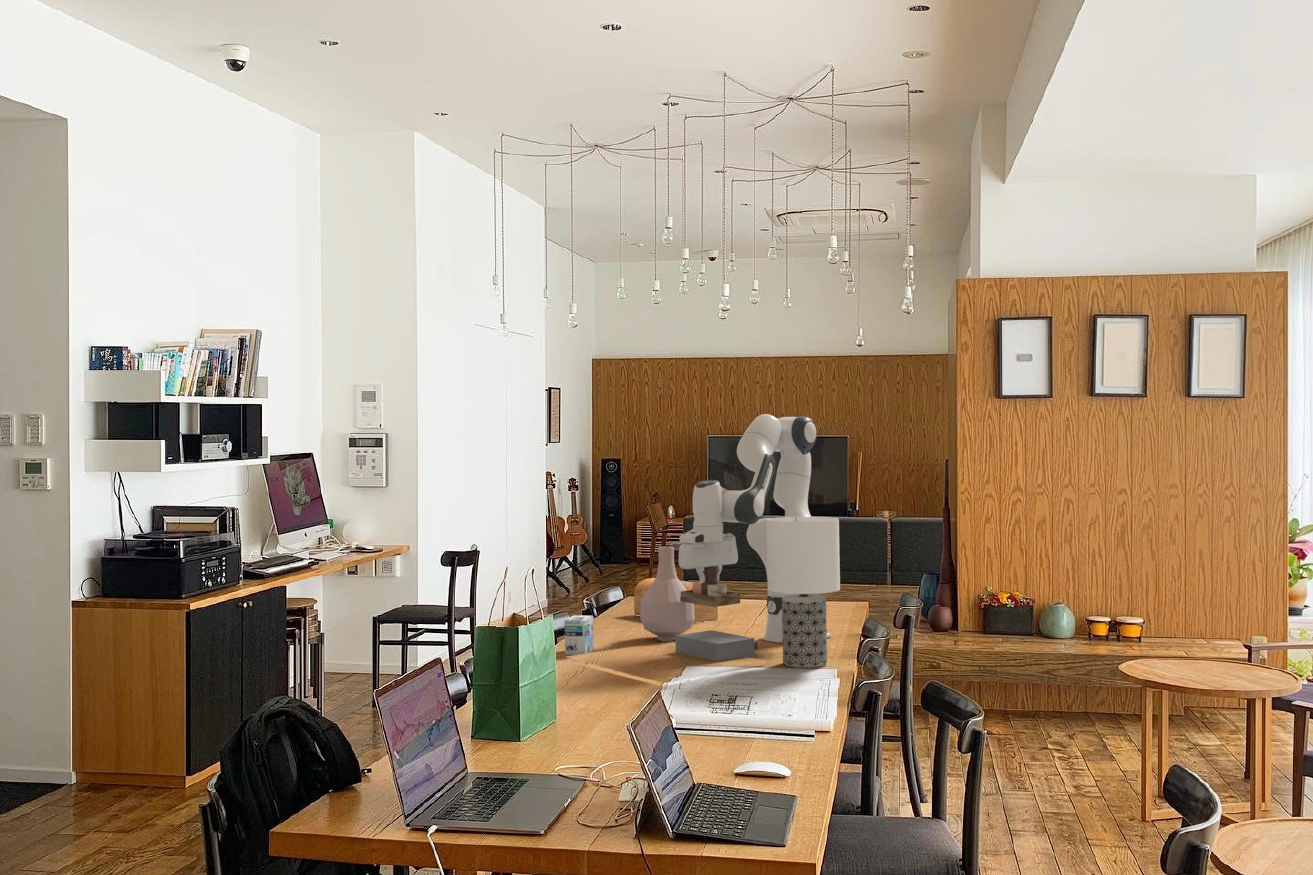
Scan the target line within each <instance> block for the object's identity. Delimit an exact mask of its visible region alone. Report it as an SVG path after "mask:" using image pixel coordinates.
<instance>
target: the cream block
mask: <svg viewBox="0 0 1313 875" xmlns="http://www.w3.org/2000/svg"><path fill="white" fill-rule="evenodd" d="M727 591H728V585H727V584H724V583H723V584H722V583H717V584H712V585H708V595H709V596H720V595H727Z"/></svg>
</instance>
